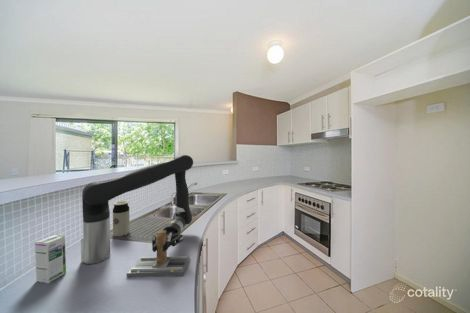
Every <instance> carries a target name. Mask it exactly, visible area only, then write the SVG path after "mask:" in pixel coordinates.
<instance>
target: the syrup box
mask: <svg viewBox="0 0 470 313" xmlns="http://www.w3.org/2000/svg"><path fill="white" fill-rule="evenodd" d="M34 251H35V252H34V253H35V278H36V280H35V281H36V282H38V281H39V282H38V283H42V282H45V283H44V284H50V283H51V282H53V281H55V280H56V279H58V278H60V277H62V276H63V275H65V274H66V273H67V266H66V265H67V264H66V263H67V262H66V261H67V260H66V237H65V236H64V235H59V234H56V235H55V234H54V235H51V236H48V237H45V238H43V239H40V240H37V241H35V242H34Z"/></svg>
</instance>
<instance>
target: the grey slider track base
mask: <svg viewBox="0 0 470 313" xmlns="http://www.w3.org/2000/svg"><path fill="white" fill-rule="evenodd" d="M170 257H171V259H170V261H169V263H168V265H167V266H166V267H159V268H152V266H153V265H154V263H155V262H156V260H157V256H142V257H141V256H140V258H138V259H137V260H136V262H135V263H134V264H133V265H132V266H131V267H130V269H129V270H128V271H127V272H126V278H151V277H153V278H154V277H184V276H185V274H186V271H187V269H188V266H189V264H190V261H191V256H186V255H184V256H180V255H178V256H176V255H175V256H170Z"/></svg>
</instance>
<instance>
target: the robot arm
mask: <svg viewBox="0 0 470 313" xmlns="http://www.w3.org/2000/svg"><path fill="white" fill-rule="evenodd" d="M193 165H194V160H193V158H192V157H191V156H190V155H187V154H182V155H179V156H176V157H174V159H171V160H169V161H165V162H160V163H154V164H150V165H147V166H144V167H140V168H138V169H135V170H133V171H131V172H129V173H127V174H125V175H123V176H122V177H119V178H116V179H111V180H108V181H104V182H101V181H93V182H92V181H91V182H90V183H88V184H86V186H84V187H83V189H82V194H81V196H82V197H81V198H82V199H81V201H82V225H83V226H82V227H83V228H82V230H83V233H82V234H83V238H81V239H80V255H81V256H80V261H81V263H84V264H86V265H92V264H98V263H100V262H103V261H105V260H106V259H108V258H109V257H110V255H111V218H110V216H111V210H110V205H109V201H111V200H113V199H115V198H117V197H119V196H122V195H123V194H125V193H129V192H133V191H135V190H138V189H141V188H143V187H144V188H145V187H147V186H149V185H152V184H155V183H156V182H159V181H162V180H163V179H165V178H167V177H170V176H172V175H174V180H175V203H176V204H175V206H176V208H179V209H183V211H176V212H175V213H174V214H173V216H172V220H171V221H170V222H168V223H167V225H166V226H165V227H164V228H163V230H166V235H167V242H166V243H165V244H164V245H163V252H165V251H166V250H168V249H169V248H171V247H175V246H177V245H178V244H180V243H181V242H183V240H184V238H183V237H184V234H182V232H183V229H184V228H185V226H186V225H190V224H191V222H192V219H193V214H192V211H191V208H190V203H189V202H190V201H189V200H190V194H189V192H190V191H189V187H188V185H187V184H188V183H187V180H186V179H187V178H186V173H187V171H189V170H190V169H191V168H193ZM151 247H152V252H153V253H157V235H156V234H152V235H151Z"/></svg>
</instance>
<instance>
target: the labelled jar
mask: <svg viewBox="0 0 470 313" xmlns="http://www.w3.org/2000/svg"><path fill="white" fill-rule="evenodd" d="M130 226H131V225H130V205H129V201H128V200H121V201H119V200H118V201H116V202H114V203H113V208H112V235H114V236H113V237H116V236H119V237H123V235H124V236H127V235H128V234H130Z"/></svg>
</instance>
